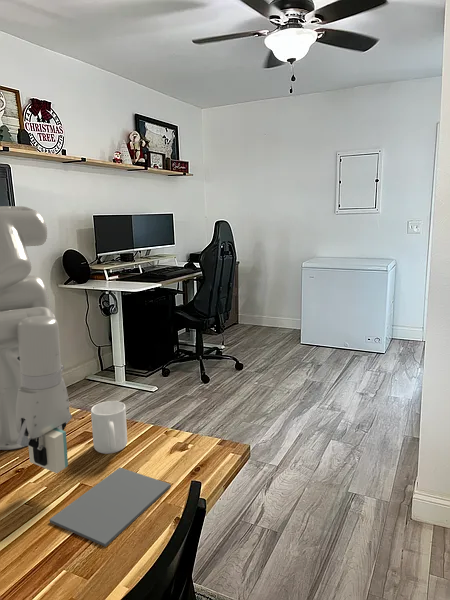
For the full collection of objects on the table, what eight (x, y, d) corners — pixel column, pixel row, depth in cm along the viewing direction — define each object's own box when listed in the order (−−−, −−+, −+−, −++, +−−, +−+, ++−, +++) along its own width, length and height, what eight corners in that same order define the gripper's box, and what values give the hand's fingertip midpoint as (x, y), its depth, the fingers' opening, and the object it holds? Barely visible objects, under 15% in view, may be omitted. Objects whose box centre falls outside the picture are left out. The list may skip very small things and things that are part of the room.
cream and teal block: (29, 461, 96) (26, 427, 94) (41, 454, 99) (38, 421, 97) (56, 473, 93) (54, 438, 91) (68, 465, 95) (65, 431, 93)
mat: (49, 522, 87) (49, 519, 87) (120, 469, 104) (119, 467, 104) (105, 546, 80) (105, 543, 80) (170, 486, 97) (170, 484, 97)
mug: (130, 459, 108) (128, 418, 106) (94, 465, 106) (91, 424, 104) (125, 435, 120) (123, 399, 118) (93, 440, 117) (90, 403, 115)
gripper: (60, 361, 100) (65, 436, 104) (-8, 388, 86) (1, 474, 90) (85, 368, 97) (89, 445, 101) (19, 397, 83) (27, 486, 87)
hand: (48, 458), depth 96 cm, fingers closed on cream and teal block, 3 cm apart
